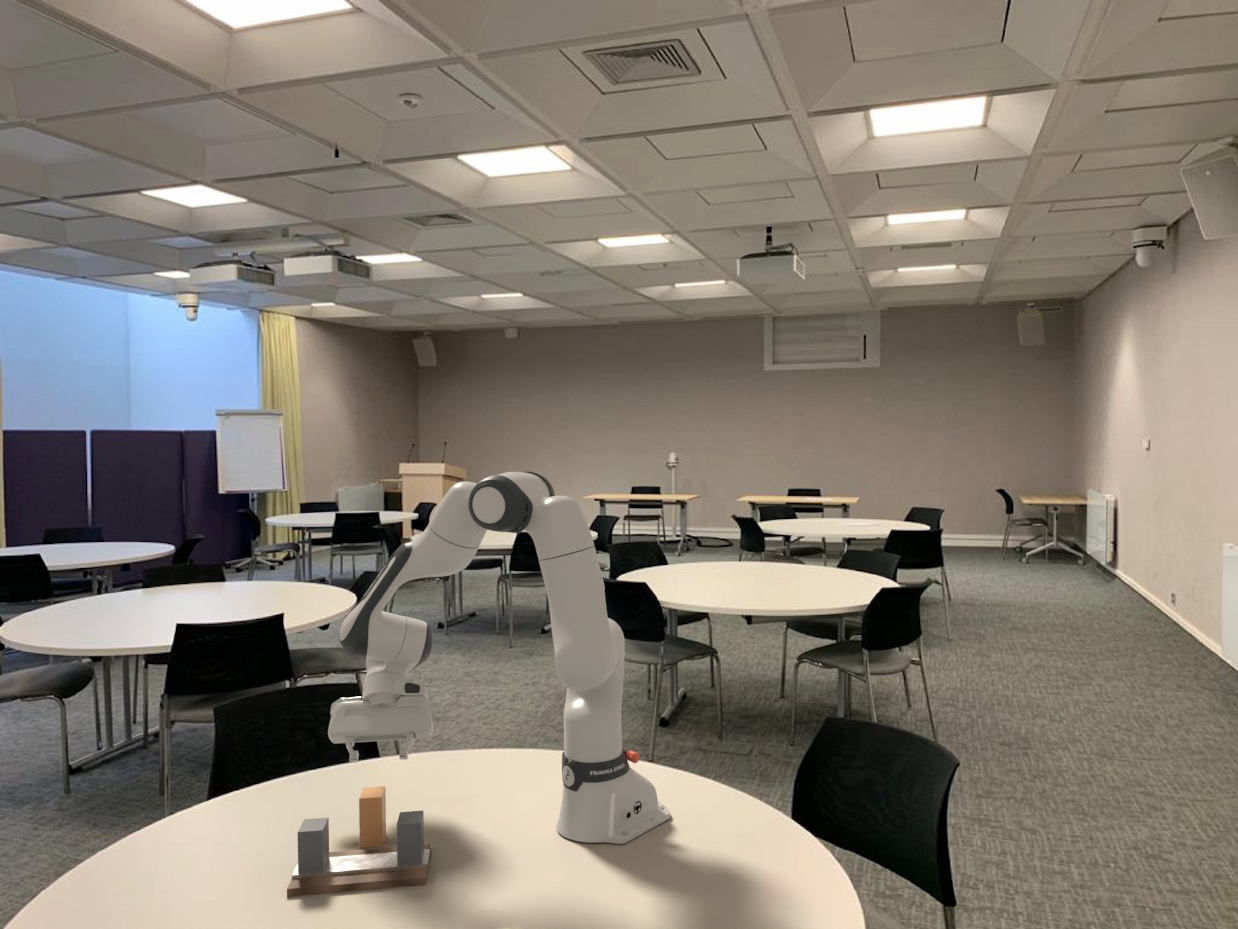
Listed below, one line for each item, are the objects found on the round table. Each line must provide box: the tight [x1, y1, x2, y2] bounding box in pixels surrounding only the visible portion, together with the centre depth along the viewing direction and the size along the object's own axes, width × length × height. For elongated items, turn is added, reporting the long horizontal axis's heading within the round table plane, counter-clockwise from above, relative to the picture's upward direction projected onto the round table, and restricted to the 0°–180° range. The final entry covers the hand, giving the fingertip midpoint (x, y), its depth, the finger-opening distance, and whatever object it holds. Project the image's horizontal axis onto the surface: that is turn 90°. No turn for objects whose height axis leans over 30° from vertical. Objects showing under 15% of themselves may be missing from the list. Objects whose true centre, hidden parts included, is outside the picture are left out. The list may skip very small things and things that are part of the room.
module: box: [358, 786, 387, 849], centre depth 155 cm, size 4×5×9 cm
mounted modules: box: [297, 810, 425, 874], centre depth 143 cm, size 20×5×7 cm, turn 98°
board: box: [286, 843, 433, 897], centre depth 143 cm, size 22×12×1 cm, turn 98°
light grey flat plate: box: [291, 849, 430, 879], centre depth 143 cm, size 22×6×1 cm, turn 98°
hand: (378, 759), depth 163 cm, fingers open, 8 cm apart
